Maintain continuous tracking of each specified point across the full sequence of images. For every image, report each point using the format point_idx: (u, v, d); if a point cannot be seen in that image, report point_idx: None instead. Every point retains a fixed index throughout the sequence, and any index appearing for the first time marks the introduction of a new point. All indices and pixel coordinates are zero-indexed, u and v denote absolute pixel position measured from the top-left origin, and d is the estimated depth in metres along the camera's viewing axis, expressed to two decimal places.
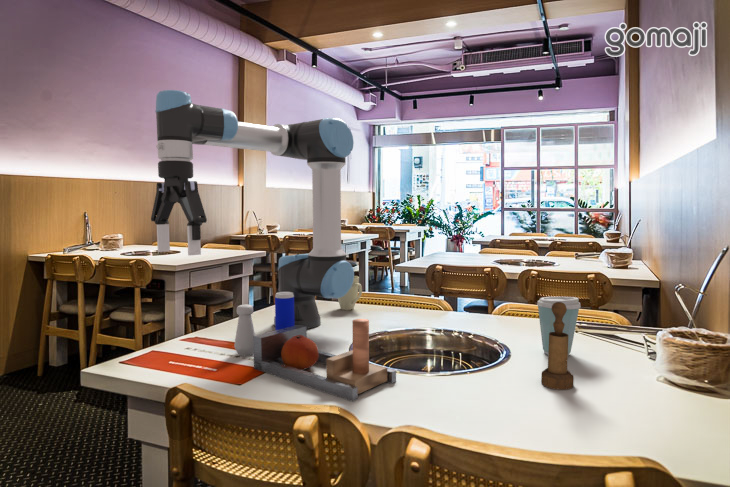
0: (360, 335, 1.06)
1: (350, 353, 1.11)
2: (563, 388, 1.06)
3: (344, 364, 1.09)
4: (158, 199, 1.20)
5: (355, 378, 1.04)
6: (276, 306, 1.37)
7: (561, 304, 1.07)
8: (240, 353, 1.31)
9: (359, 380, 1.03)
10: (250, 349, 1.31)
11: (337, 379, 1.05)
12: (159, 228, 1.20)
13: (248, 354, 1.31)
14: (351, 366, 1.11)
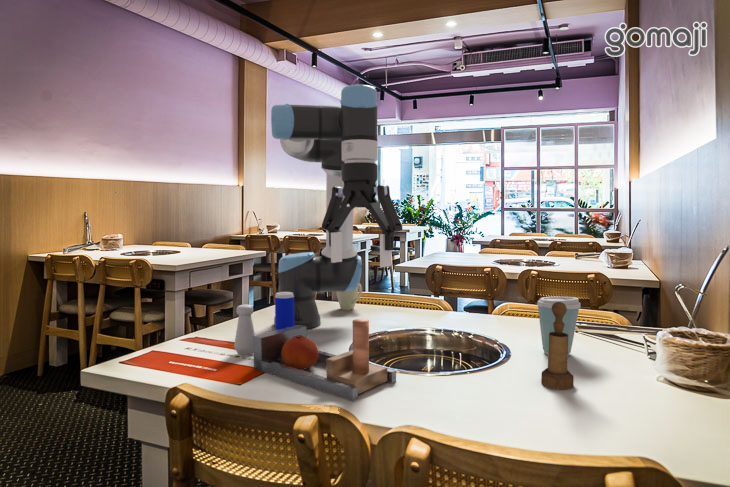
0: (360, 335, 1.06)
1: (350, 353, 1.11)
2: (563, 388, 1.06)
3: (344, 364, 1.09)
4: (333, 205, 1.09)
5: (355, 378, 1.04)
6: (276, 306, 1.37)
7: (561, 304, 1.07)
8: (240, 353, 1.31)
9: (359, 380, 1.03)
10: (250, 349, 1.31)
11: (337, 379, 1.05)
12: (334, 236, 1.09)
13: (248, 354, 1.31)
14: (351, 366, 1.11)
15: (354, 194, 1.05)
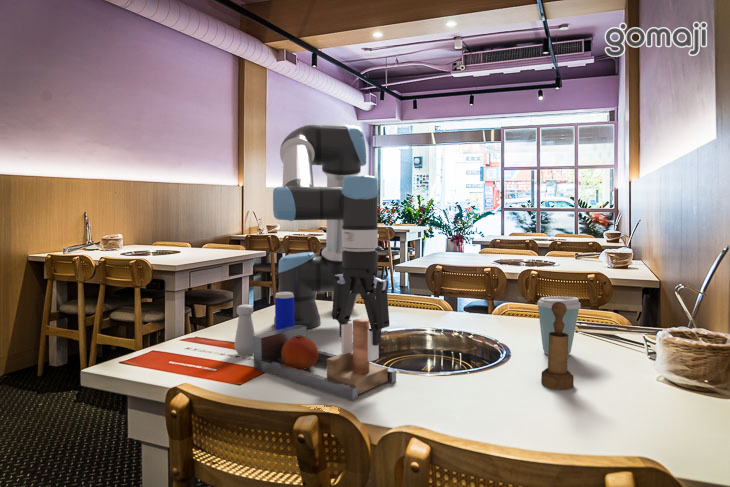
0: (361, 335, 1.06)
1: (350, 353, 1.11)
2: (563, 388, 1.06)
3: (345, 365, 1.09)
4: (338, 293, 1.10)
5: (356, 378, 1.04)
6: (276, 306, 1.37)
7: (561, 304, 1.07)
8: (240, 353, 1.31)
9: (359, 380, 1.03)
10: (250, 349, 1.31)
11: (337, 379, 1.05)
12: (344, 329, 1.09)
13: (248, 354, 1.31)
14: (351, 366, 1.10)
15: (354, 279, 1.06)
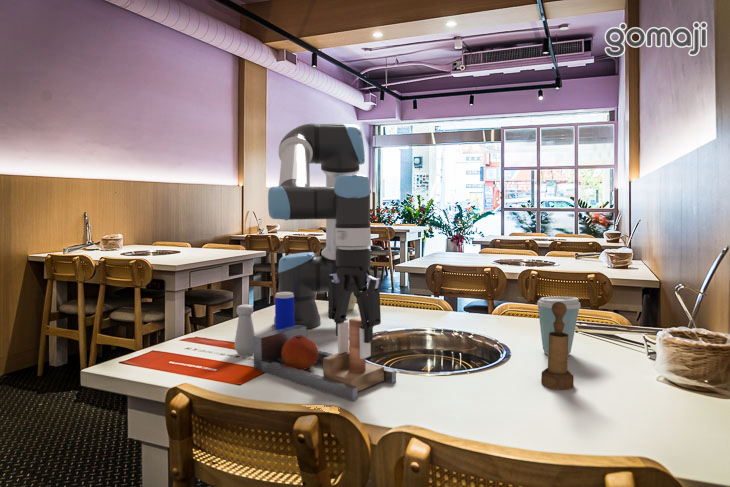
0: (357, 334, 1.07)
1: (347, 352, 1.12)
2: (563, 388, 1.06)
3: (341, 364, 1.09)
4: (333, 292, 1.11)
5: (352, 377, 1.04)
6: (276, 306, 1.37)
7: (561, 304, 1.07)
8: (240, 353, 1.31)
9: (355, 379, 1.04)
10: (250, 349, 1.31)
11: (334, 378, 1.06)
12: (341, 328, 1.10)
13: (248, 354, 1.31)
14: (348, 365, 1.11)
15: (348, 277, 1.08)
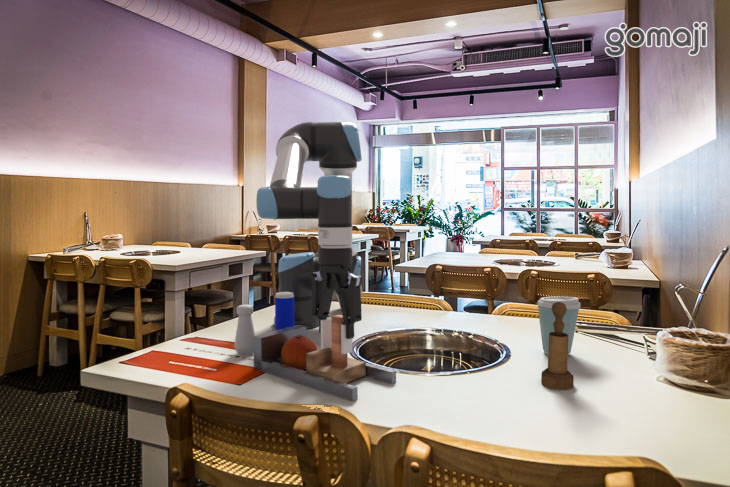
0: (339, 330, 1.10)
1: (330, 348, 1.15)
2: (563, 388, 1.06)
3: (324, 359, 1.13)
4: (316, 289, 1.14)
5: (333, 372, 1.08)
6: (276, 306, 1.37)
7: (561, 304, 1.07)
8: (240, 353, 1.31)
9: (337, 374, 1.07)
10: (250, 349, 1.31)
11: (316, 373, 1.09)
12: (323, 324, 1.13)
13: (248, 354, 1.31)
14: (330, 360, 1.15)
15: (330, 275, 1.11)
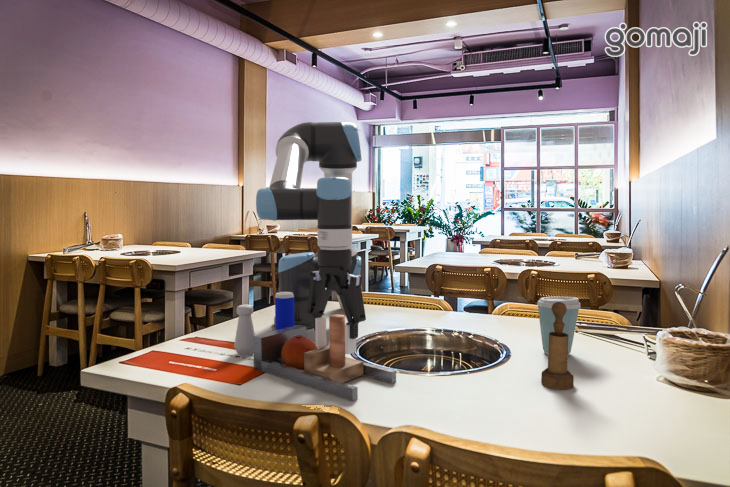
0: (337, 330, 1.10)
1: (328, 347, 1.15)
2: (563, 388, 1.06)
3: (322, 358, 1.13)
4: (313, 288, 1.15)
5: (331, 371, 1.08)
6: (276, 306, 1.37)
7: (561, 304, 1.07)
8: (240, 353, 1.31)
9: (335, 373, 1.08)
10: (250, 349, 1.31)
11: (314, 372, 1.10)
12: (318, 322, 1.14)
13: (248, 354, 1.31)
14: (328, 360, 1.15)
15: (329, 277, 1.11)
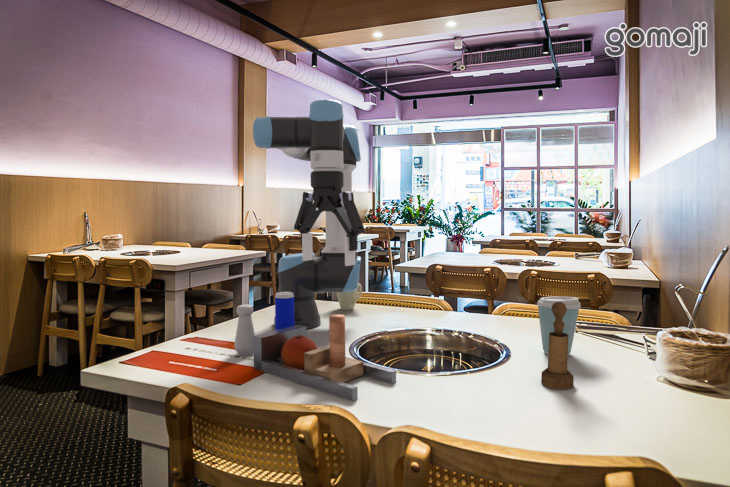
0: (337, 330, 1.10)
1: (328, 347, 1.15)
2: (563, 388, 1.06)
3: (322, 358, 1.13)
4: (304, 208, 1.20)
5: (331, 371, 1.08)
6: (276, 306, 1.37)
7: (561, 304, 1.07)
8: (240, 353, 1.31)
9: (335, 373, 1.08)
10: (250, 349, 1.31)
11: (314, 372, 1.10)
12: (305, 237, 1.20)
13: (248, 354, 1.31)
14: (328, 360, 1.15)
15: (322, 199, 1.15)
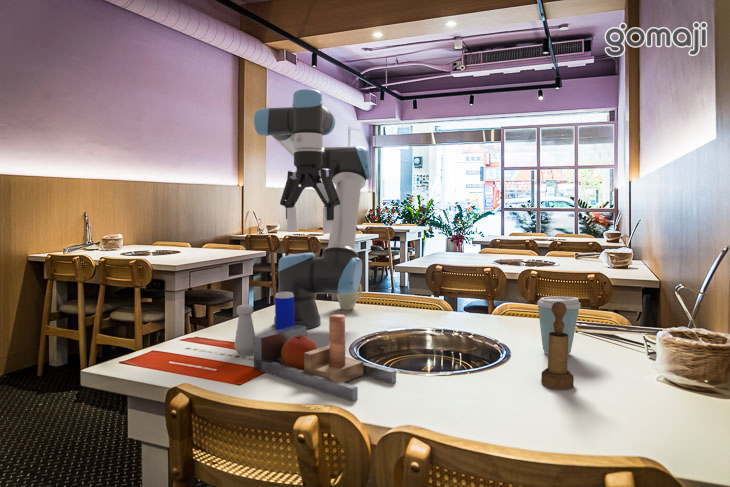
0: (337, 330, 1.10)
1: (328, 347, 1.15)
2: (563, 388, 1.06)
3: (322, 358, 1.13)
4: (289, 185, 1.36)
5: (331, 371, 1.08)
6: (276, 306, 1.37)
7: (561, 304, 1.07)
8: (240, 353, 1.31)
9: (335, 373, 1.08)
10: (250, 349, 1.31)
11: (314, 372, 1.10)
12: (289, 211, 1.36)
13: (248, 354, 1.31)
14: (328, 360, 1.15)
15: (304, 176, 1.32)
